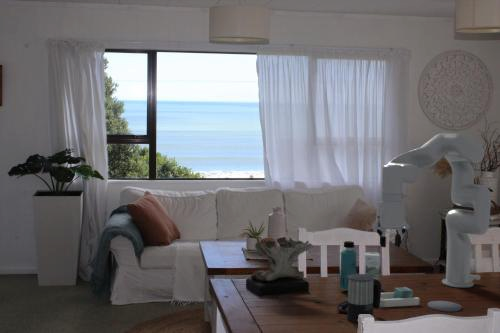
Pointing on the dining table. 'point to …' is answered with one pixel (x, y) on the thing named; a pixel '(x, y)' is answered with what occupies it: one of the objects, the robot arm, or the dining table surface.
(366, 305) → the milk frother
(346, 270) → the beverage bottle
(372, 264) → the syrup box
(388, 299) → the white tray
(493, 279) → the dining table surface
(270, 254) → the coral
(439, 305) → the pad
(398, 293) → the teal block
